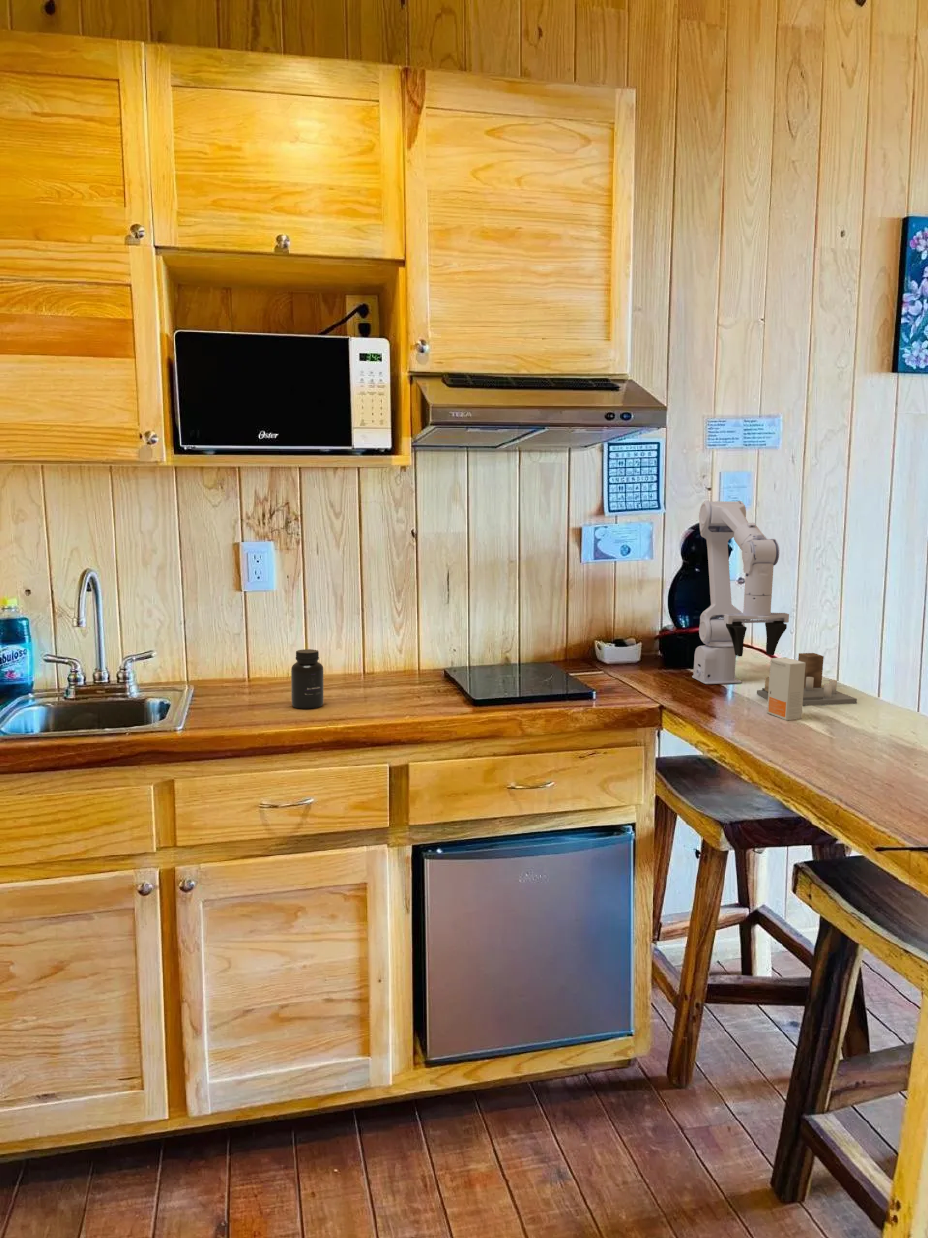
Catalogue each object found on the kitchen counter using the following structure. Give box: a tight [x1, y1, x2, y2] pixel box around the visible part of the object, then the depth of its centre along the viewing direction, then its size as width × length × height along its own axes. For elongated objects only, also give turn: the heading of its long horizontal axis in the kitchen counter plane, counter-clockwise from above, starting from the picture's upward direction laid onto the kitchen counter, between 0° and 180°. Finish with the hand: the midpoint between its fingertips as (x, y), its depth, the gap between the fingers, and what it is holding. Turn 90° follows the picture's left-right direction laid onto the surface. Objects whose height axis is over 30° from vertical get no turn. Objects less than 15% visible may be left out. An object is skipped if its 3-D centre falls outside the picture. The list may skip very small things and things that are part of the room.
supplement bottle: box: [290, 648, 324, 710], centre depth 186 cm, size 7×7×12 cm
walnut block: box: [797, 652, 825, 688], centre depth 206 cm, size 4×4×8 cm
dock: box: [756, 677, 858, 706], centre depth 196 cm, size 18×11×4 cm, turn 100°
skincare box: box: [766, 656, 806, 721], centre depth 180 cm, size 6×4×12 cm
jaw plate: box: [764, 676, 769, 692], centre depth 194 cm, size 1×8×3 cm, turn 11°
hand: (754, 655), depth 192 cm, fingers open, 7 cm apart
